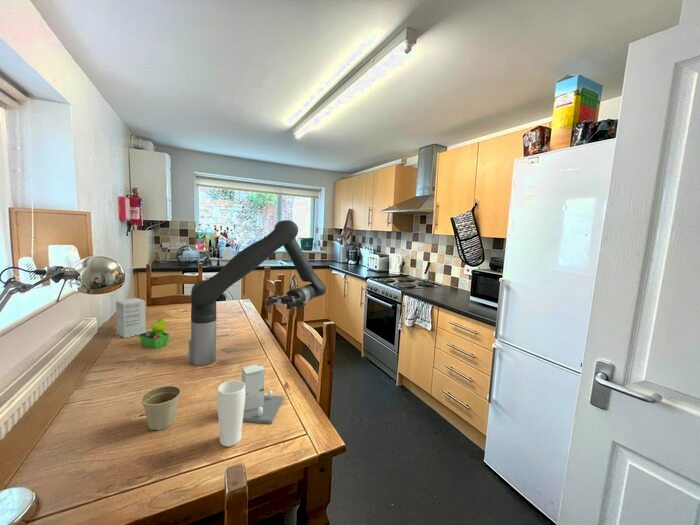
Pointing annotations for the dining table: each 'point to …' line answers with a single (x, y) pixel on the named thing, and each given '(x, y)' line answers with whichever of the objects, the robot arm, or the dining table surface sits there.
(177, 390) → the flower pot
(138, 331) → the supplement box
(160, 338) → the fruit basket
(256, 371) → the skincare box
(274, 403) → the pin tray
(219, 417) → the drinking glass
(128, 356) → the dining table surface
